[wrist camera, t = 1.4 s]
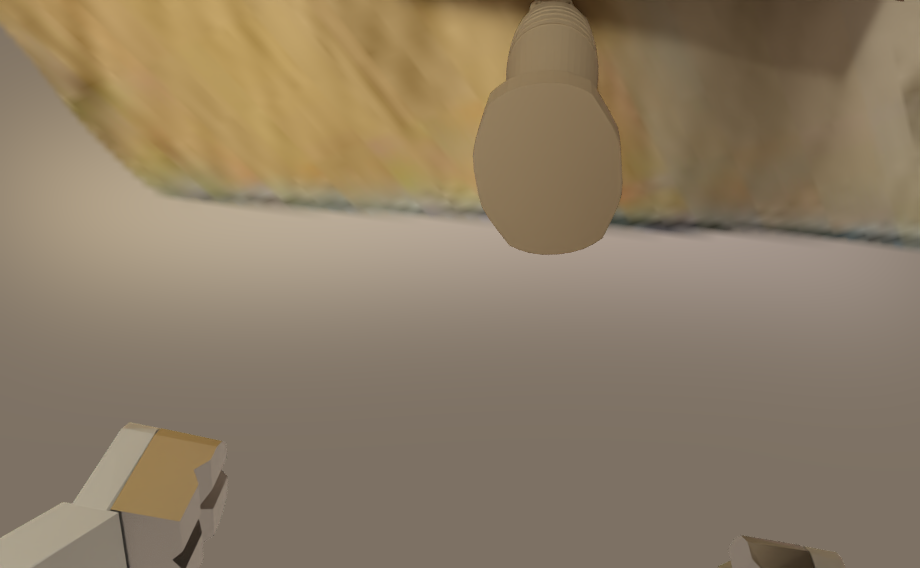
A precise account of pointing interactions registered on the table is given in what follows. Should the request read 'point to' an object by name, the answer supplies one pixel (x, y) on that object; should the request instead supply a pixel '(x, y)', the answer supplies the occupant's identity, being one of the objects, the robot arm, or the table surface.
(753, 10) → the table surface
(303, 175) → the table surface
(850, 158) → the table surface
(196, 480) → the robot arm
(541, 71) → the handle
